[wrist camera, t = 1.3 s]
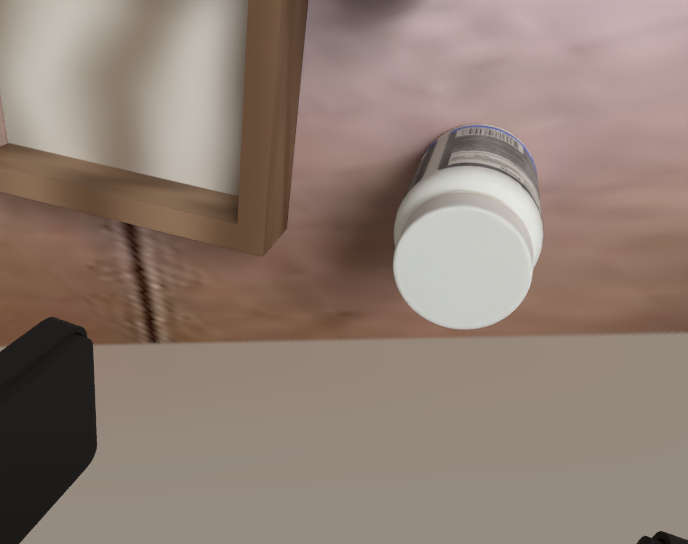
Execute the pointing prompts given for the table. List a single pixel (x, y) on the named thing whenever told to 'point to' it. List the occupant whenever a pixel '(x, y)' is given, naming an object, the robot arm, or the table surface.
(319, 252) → the table surface
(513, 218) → the pill bottle
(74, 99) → the bay
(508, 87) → the table surface
